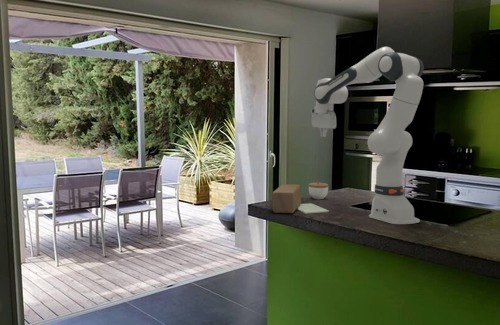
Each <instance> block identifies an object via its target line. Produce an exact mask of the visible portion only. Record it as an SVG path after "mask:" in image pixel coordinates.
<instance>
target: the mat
mask: <svg viewBox="0 0 500 325" xmlns="http://www.w3.org/2000/svg"><path fill="white" fill-rule="evenodd" d="M296 210H297V211H298V212H299V211H300V212H302V213H303V214H305V215H307V214H319V213H329V212H330V211H329V209H326V208H323V207H321V206H319V205H316V204H314V203H312V202H311V203H301V204H300V205H299V206H298V208H297V209H296Z"/></svg>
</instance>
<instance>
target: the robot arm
mask: <svg viewBox="0 0 500 325" xmlns="http://www.w3.org/2000/svg"><path fill="white" fill-rule="evenodd" d="M424 68H425V67H424V63H423V61H422V60H421V59H419V57H416V56H413V55H409V54H406V53H402V52H395V50H394V49H392V47H390V46H382V47H380V48H378V49H376V50H375V51H373V52H371V53H370V54H369V55H367V56H365V57H364V58H363V59H361V60H360V61H359V62H358V63H355V64H354V65H353V66H351V67H349V68H347V69H345V70H343V71H342V72H340V73H339V74H338V75H336V76H334V77H332V78H331V77H325V78H324V77H323V78H321V79H318V80H317V82H316V87H315V89H314V93H313V95H314V98H315V106H314V107H313V108H312V109H311V111H310V113H311V127H312V128H318V129H319V132H320V137H321V138H323V137H324V138H326V137H327V134H328V130H329V129H333V130H334V129H336V128H337V116H336V113H335V111H334V110H333V109H334V107H333V106H334V105H335V104H344V103H345V102H346V101H348V98H349V90H348V88H347V86H349V85H353V84H365V83H368V84H369V83H371V82H373V81H374V82H375V80H377V79H379V78H381V77H382V76H383V77H385V78H386V79H388V81H389V82H391V83H392V82H394V83H395V86H396V87H395V90H394V92H393V95H392V98H391V101H390V104H389V106H388V109H387V111H386V114H385V115H384V117H383V119H382V120H381V122H380V123H379V125H378V127H377V128H376V129H375V130H374V131H373V132H372V133H371V134H370V135H369V137H367V147H368V150H369V151H370V152H372V154H375V155H379V156H382V157H381V160H380V161H379V163H378V165H377V166H376V170H375V171H376V174H375V177H376V179H375V184H374V197H373V198H372V204H371V211H370V214H369V215H368V218H370V219H375V220H378V221H381V222H384V223H389V224H392V225H411V224H413V225H414V224H417V223H421V220H420V219H419V218H417V217H415V208H414V206H413V205H412V204H411V202H410V201H409V200H408V199H407V197H406V196H405V193H406V189H404V187H403V184H402V183H403V170H404V165H405V160H406V159H407V158H406V157H407V154H408V152H409V150H410V148H411V147H412V146H413V137H412V135H411V134H410V132H408V131H406V128H407V127H408V126H409V125H410V124H411V123H412V121H413V120H414V117H415V114H416V111H417V109H418V106H419V104H420V101H421V98H422V94H423V90H424V81H423V79H422V78H421V76H422V75H423V72H424Z"/></svg>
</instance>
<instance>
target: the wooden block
mask: <svg viewBox="0 0 500 325" xmlns="http://www.w3.org/2000/svg"><path fill="white" fill-rule="evenodd" d="M301 186H302V185H300V184H297V183H296V184H295V183H294V184H281V185H280V186H279V187H277V188H276V189H275V190H274V191H273V192H272V194H271V196H272V198H271V199H272V200H271V201H272V202H271V203H272V212H273V213H275V214H293V213H294V212H296V210H297V208H298V206H299V205H300V204H302V190H301V188H302V187H301Z"/></svg>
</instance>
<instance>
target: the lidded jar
mask: <svg viewBox="0 0 500 325" xmlns="http://www.w3.org/2000/svg"><path fill="white" fill-rule="evenodd" d="M308 193H309V196H311V198H312V199H313V198H314V200H324V199H325V198H326V196H328V193H329V184H328V183H325V182H320V181H319V180H317V182H310V183H308Z"/></svg>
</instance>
